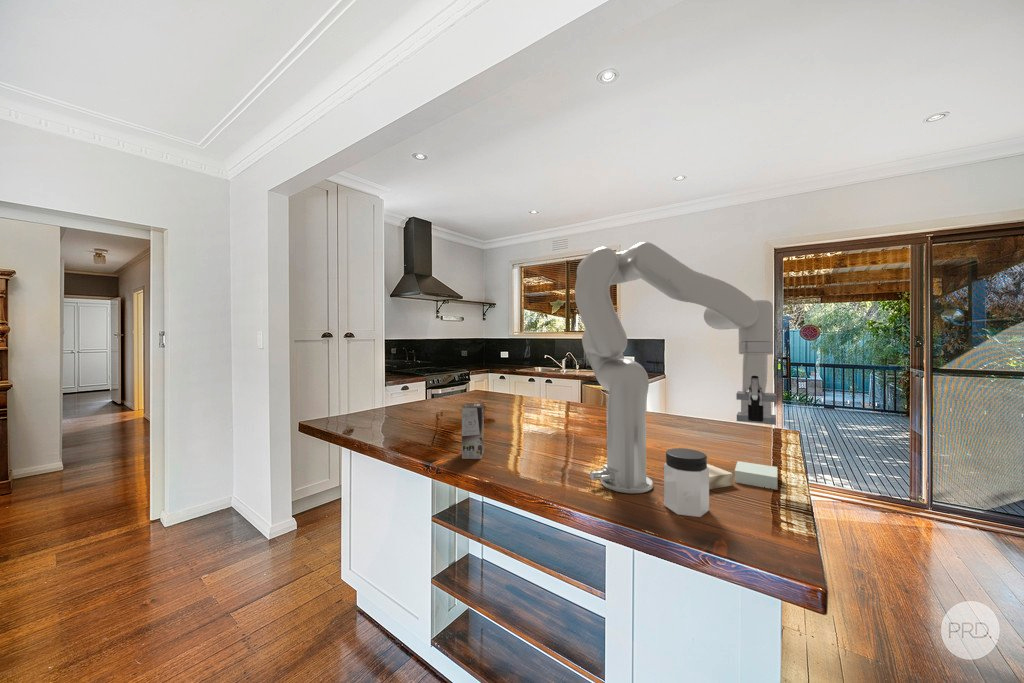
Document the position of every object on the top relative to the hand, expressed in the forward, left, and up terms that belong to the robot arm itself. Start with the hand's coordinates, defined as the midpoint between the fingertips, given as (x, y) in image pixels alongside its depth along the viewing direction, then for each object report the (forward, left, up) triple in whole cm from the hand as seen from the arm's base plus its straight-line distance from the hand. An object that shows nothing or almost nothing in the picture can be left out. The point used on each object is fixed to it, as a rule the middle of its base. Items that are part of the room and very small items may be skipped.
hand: (756, 418), depth 99 cm
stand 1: (-13, +4, -16) cm, 21 cm away
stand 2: (0, 0, -16) cm, 16 cm away
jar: (-29, -7, -16) cm, 34 cm away
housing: (0, 0, -1) cm, 1 cm away
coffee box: (-64, +47, -16) cm, 81 cm away
